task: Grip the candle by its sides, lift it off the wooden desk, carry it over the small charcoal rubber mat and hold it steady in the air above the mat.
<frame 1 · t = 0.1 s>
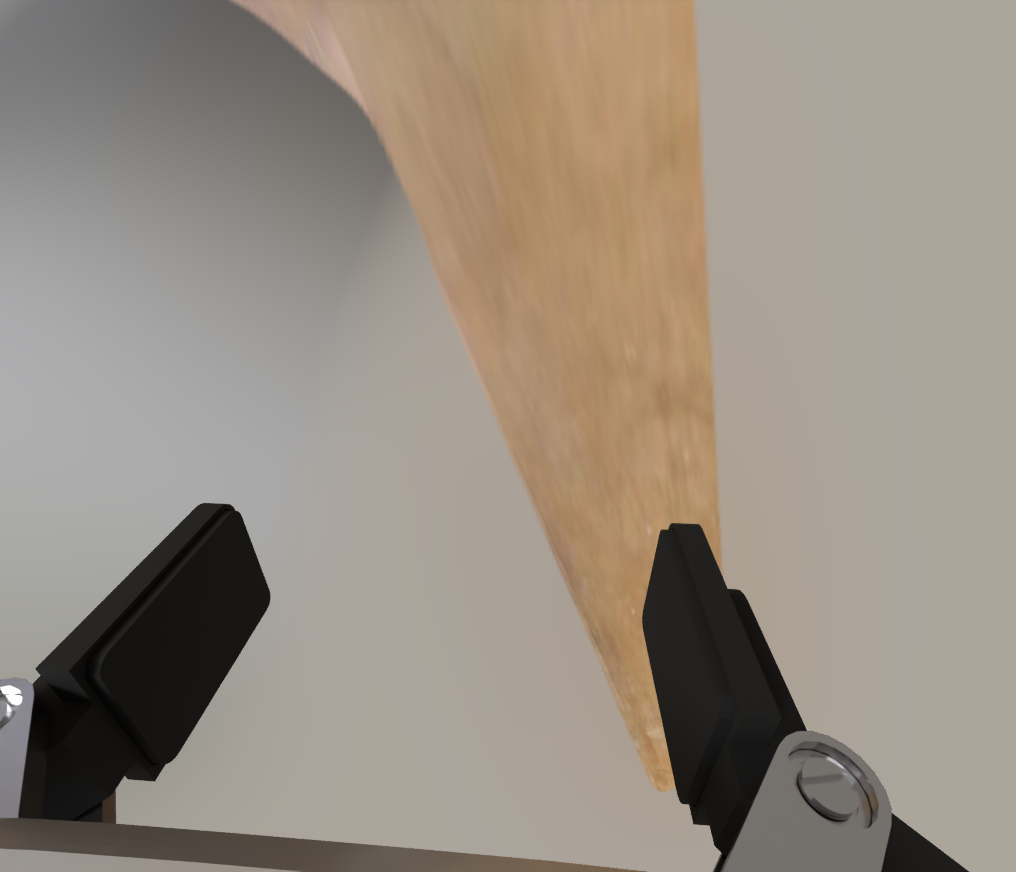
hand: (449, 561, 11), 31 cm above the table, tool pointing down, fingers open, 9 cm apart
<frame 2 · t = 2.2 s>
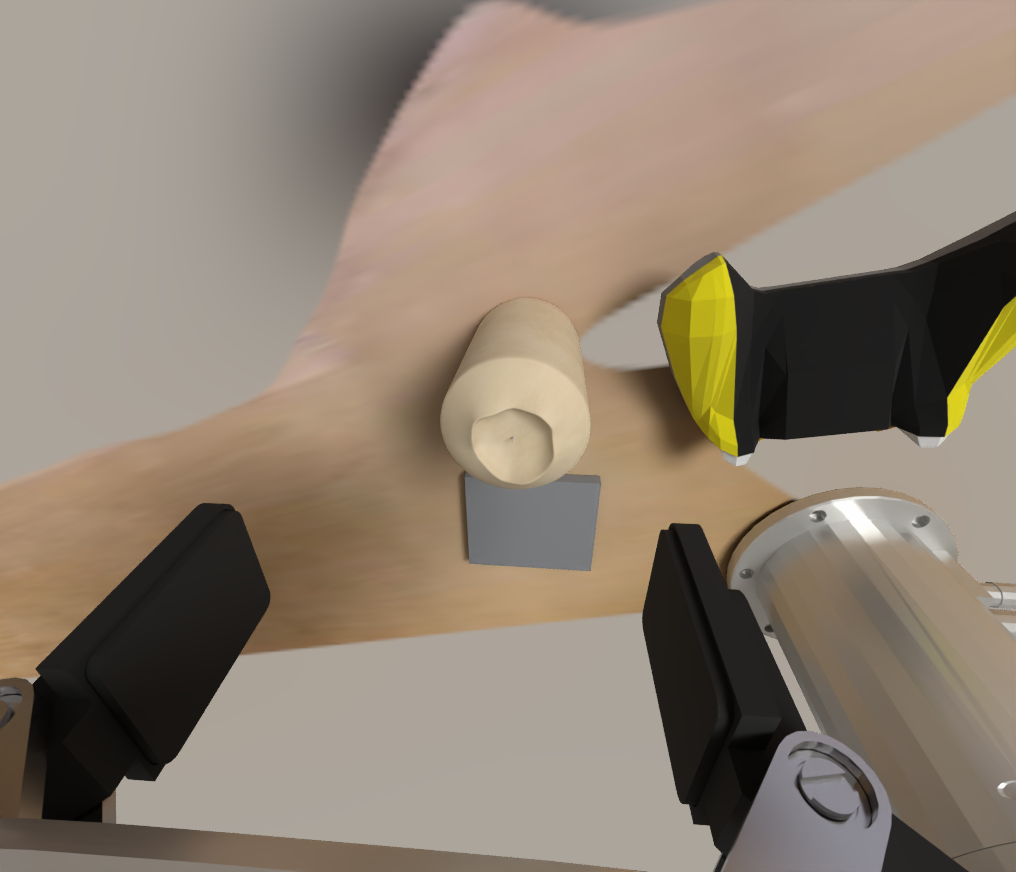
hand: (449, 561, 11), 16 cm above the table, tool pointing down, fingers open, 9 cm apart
candle: (526, 348, 25), on the table
desk mat: (531, 518, 30), on the table
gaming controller: (805, 327, 23), on the table
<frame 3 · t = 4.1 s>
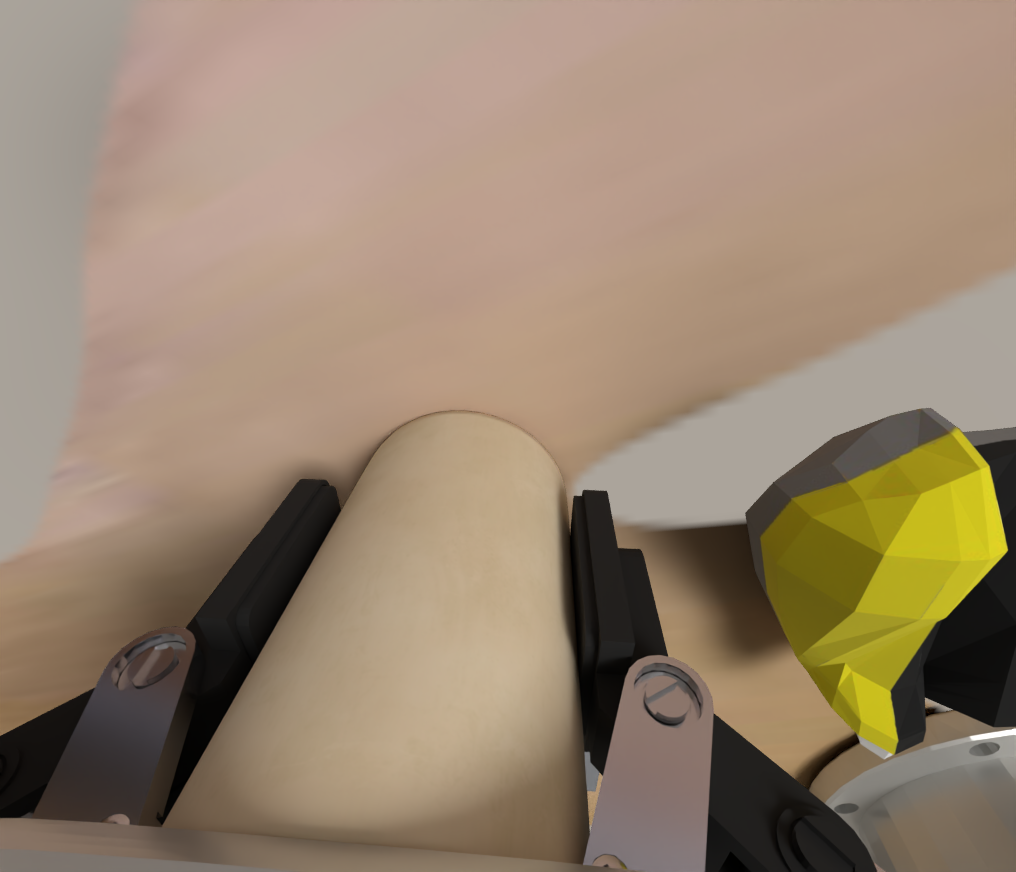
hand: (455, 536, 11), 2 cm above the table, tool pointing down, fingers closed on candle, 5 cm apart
candle: (468, 490, 13), on the table, touching gripper
desk mat: (500, 719, 19), on the table
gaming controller: (1006, 481, 12), on the table
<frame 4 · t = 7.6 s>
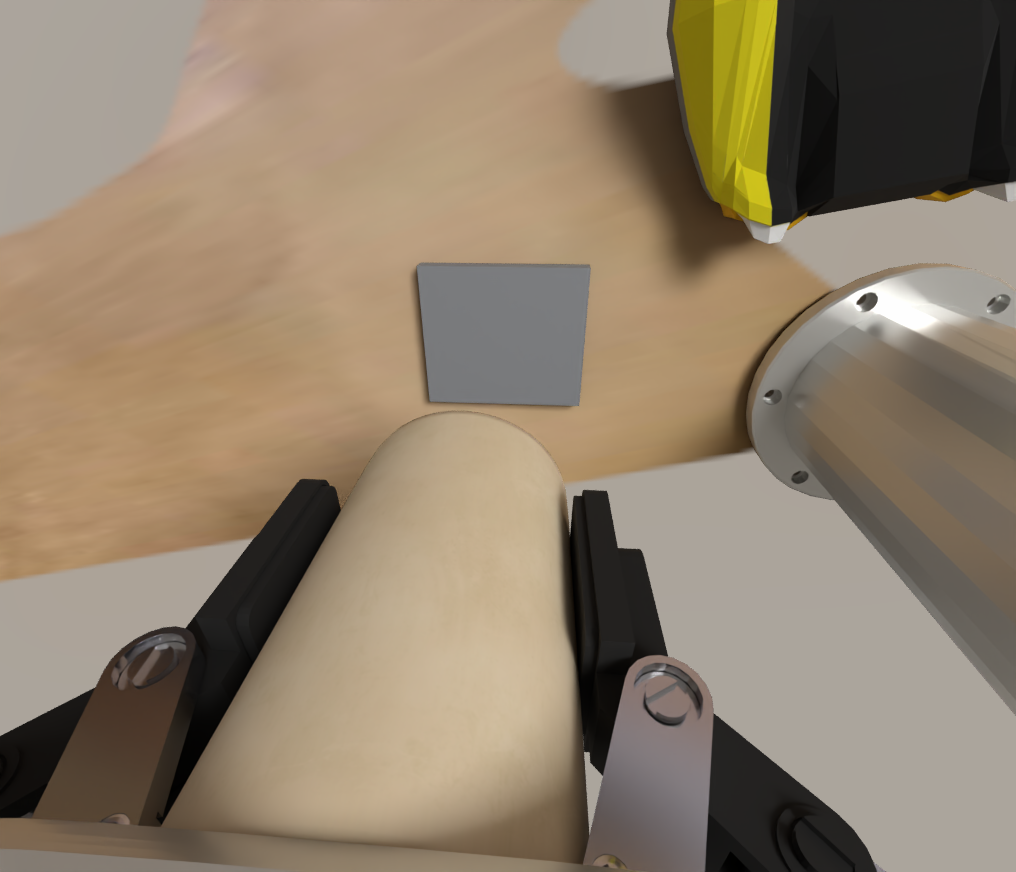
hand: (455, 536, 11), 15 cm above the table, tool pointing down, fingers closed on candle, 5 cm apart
candle: (467, 490, 13), point 13 cm above the table, touching gripper
desk mat: (504, 335, 24), on the table
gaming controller: (853, 71, 18), on the table
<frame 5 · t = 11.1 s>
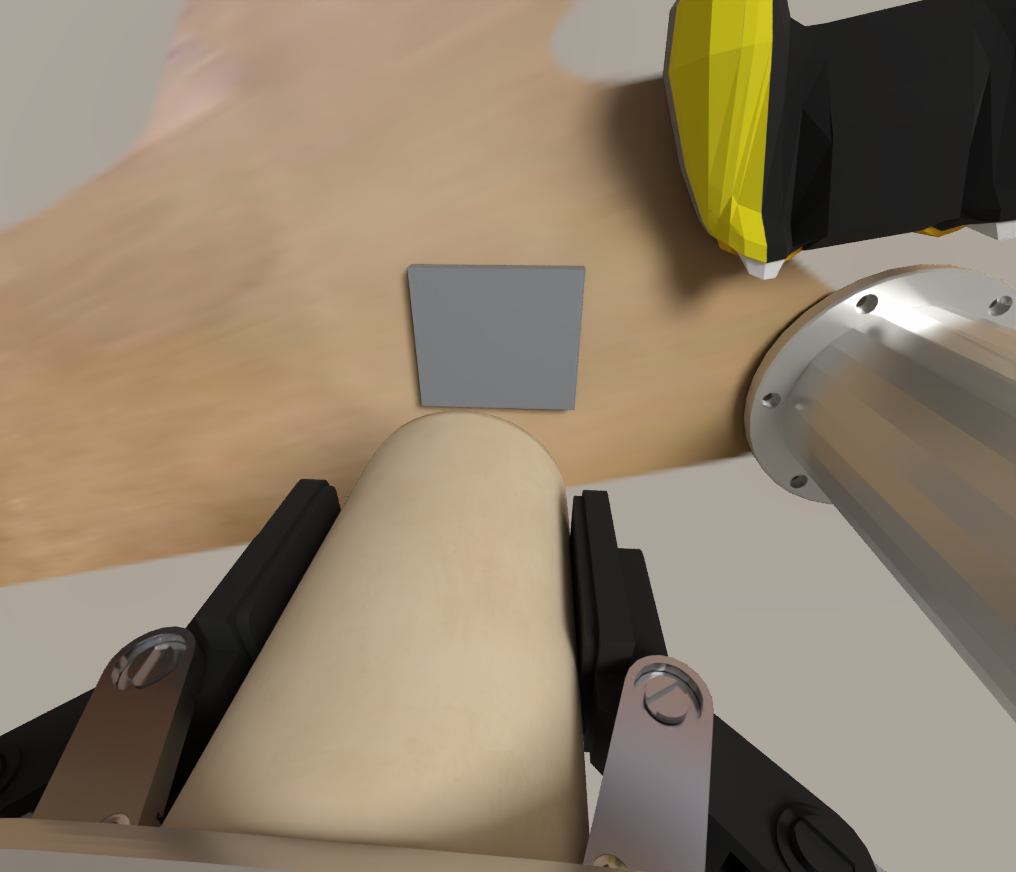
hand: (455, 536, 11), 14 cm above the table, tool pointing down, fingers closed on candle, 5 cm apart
candle: (468, 490, 13), point 12 cm above the table, touching gripper
desk mat: (497, 338, 24), on the table
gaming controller: (847, 107, 18), on the table
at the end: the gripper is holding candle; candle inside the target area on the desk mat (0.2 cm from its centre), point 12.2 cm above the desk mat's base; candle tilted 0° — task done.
